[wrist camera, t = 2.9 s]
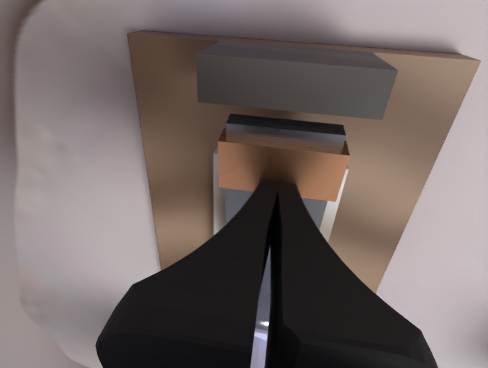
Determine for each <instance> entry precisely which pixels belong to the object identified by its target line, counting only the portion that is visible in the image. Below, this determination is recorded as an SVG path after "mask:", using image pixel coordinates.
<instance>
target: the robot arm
mask: <svg viewBox="0 0 488 368" xmlns="http://www.w3.org/2000/svg"><path fill="white" fill-rule="evenodd" d="M269 249H270V314H269V325H268V330H263V329H257V328H255V326H256V317H257V309H258V301H259V295H260V290H261V286H262V281H263V277H264V272H265V268H266V263H267V258H268V254H269ZM95 346H96V350H97V355H98V358H99V360H100V362H101V364H102V367H103V368H438V366H437V364H436V361H435V359H434V357H433V354H432V352H431V350H430V348H429V346H428V344H427V342H426V340H425V338H424V336H423V334H422V332H421V330H420V329H418V328H417V327H416V326H415V325H413V324H412V323H411V322H409V321H408V320H407V319H406V318H404V317H403V316H402V315H400V314H399V313H398V312H397V311H395V310H394V309H393V308H392V307H390V306H389V305H388V304H387V303H385V302H384V301H383V300H382V299H381V298H380V297H379V296H377V295H376V294H375V293H374V292H373V291H372V290H371V289H370V288H368V287H367V286H366V285H365V284H364V283H363V282H362V281H361V280H360V279H359V278H358V277H357V276H356V275H355V274H354V273H353V272H352V271H351V270H350V269H349V267H348V266H347V265H346V264H345V263H344V262H343V261H342V260H341V259H340V257H339V256H338V255H337V254H336V252H335V251H334V250H333V249H332V247H331V246H330V245H329V243H328V242H327V241H326V239H325V238H324V236H323V235H322V233H321V232H320V230H319V229H318V227H317V226H316V224H315V222H314V221H313V219H312V217H311V215H310V214H309V212H308V210H307V208H306V206H305V204H304V202H303V200H302V198H301V195H300V193H299V190H298V187H297V186H296V185H295V184H292V183H283V182H275V181H267V180H261V181H260V182H259V183H258V185H257V187H256V189H255V190H254V192H253V193H252V195H251V196H250V197H249V199H248V200H247V201H246V203H245V204H244V205H243V206H242V208H241V209H240V210H239V211H238V212H237V213H236V214H235V215H234V217H233V218H232V219H231V220H230V221H229V222H228V223H227V224H226V225H225V226H224V227H223V228H222V229H221V230H219V231H218V232H217V233H216V234H215V235H214V236H213V237H211V238H210V239H209V240H207V241H206V242H205V243H204V244H202V245H201V246H200V247H198V248H197V249H196V250H194V251H193V252H191V253H190V254H188V255H187V256H185V257H183V258H182V259H180V260H179V261H177V262H175V263H174V264H172V265H171V266H169V267H167V268H165V269H164V270H162V271H160V272H158V273H156V274H154V275H151V276H149V277H147V278H145V279H143V280H141V281H139V282H137V283H135V284H133V285H132V286H131V287H130V289H129V290H128V291H127V293H126V294H125V295H124V297H123V298H122V299H121V301H120V302H119V304H118V305H117V306H116V308H115V309H114V311H113V313H112V315H111V316H110V318H109V320H108V322H107V323H106V325H105V327H104V329H103V330H102V332H101V334H100V336H99V337H98V340H97V342H96V345H95Z"/></svg>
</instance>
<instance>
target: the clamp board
mask: <svg viewBox="0 0 488 368" xmlns="http://www.w3.org/2000/svg"><path fill="white" fill-rule="evenodd" d="M127 36H128V43H129V50H130V57H131V63H132V70H133V77H134V84H135V91H136V98H137V105H138V112H139V119H140V126H141V133H142V140H143V146H144V153H145V160H146V167H147V174H148V181H149V188H150V195H151V202H152V209H153V216H154V222H155V229H156V236H157V243H158V250H159V257H160V264H161V271H162V270H164V269H165V268H167V267H169V266H171V265H172V264H174V263H175V262H177V261H179V260H180V259H182V258H183V257H185V256H187V255H188V254H190V253H191V252H193V251H194V250H196V249H197V248H198V247H200V246H201V245H202V244H204V243H205V242H206V241H207V240H209V239H210V238H211V237H213V236H214V235H215V234H216V233H217V232H218V231H219V230H221V229H222V228H223V227H224V226H225V225H226V188H221V187H219V172H218V140H219V138H220V136H221V133H222V131H223V129H224V128H226V122H227V120H228V118H229V116H230V114H240V115H250V116H260V117H270V118H280V119H290V120H300V121H310V122H320V123H330V124H340V125H343V126H344V129H345V133H346V138H345V141H346V142H347V146H348V150H349V153H350V158H349V161H348V164H347V168H346V171H345V174H344V177H343V181H342V184H341V187H340V190H339V194H338V197H337V200H336V202H333V201H328V202H327V205H326V209H325V212H324V216H323V219H322V223H321V227H320V232H321V233H322V235H323V236H324V238H325V239H326V241H327V242H328V243H329V245H330V246H331V247H332V249H333V250H334V251H335V252H336V254H337V255H338V256H339V257H340V259H341V260H342V261H343V262H344V263H345V264H346V265H347V266H348V267H349V269H350V270H351V271H352V272H353V273H354V274H355V275H356V276H357V277H358V278H359V279H360V280H361V281H362V282H363V283H364V284H365V285H366V286H367V287H368V288H370V289H371V290H372V291H373V292H374V293H376V291H377V289H378V286H379V284H380V282H381V280H382V278H383V275H384V273H385V271H386V269H387V267H388V264H389V262H390V260H391V258H392V256H393V253H394V251H395V249H396V247H397V245H398V242H399V240H400V238H401V236H402V234H403V231H404V229H405V227H406V225H407V223H408V220H409V218H410V216H411V214H412V212H413V209H414V207H415V205H416V203H417V201H418V198H419V196H420V194H421V192H422V190H423V187H424V185H425V183H426V181H427V179H428V176H429V174H430V172H431V170H432V168H433V165H434V163H435V161H436V159H437V157H438V154H439V152H440V150H441V148H442V146H443V143H444V141H445V139H446V137H447V135H448V132H449V130H450V128H451V126H452V124H453V121H454V119H455V117H456V115H457V113H458V110H459V108H460V106H461V104H462V102H463V99H464V97H465V95H466V93H467V91H468V88H469V86H470V84H471V82H472V80H473V77H474V75H475V73H476V71H477V69H478V66H479V64H480V62H481V61H480V60H477V59H474V58H471V57H468V56H465V55H461V54H448V53H435V52H421V51H408V50H395V49H381V48H368V47H355V46H341V45H328V44H315V43H301V42H288V41H275V40H261V39H248V38H235V37H222V36H208V35H195V34H182V33H168V32H155V31H138V32H133V33H128V34H127Z"/></svg>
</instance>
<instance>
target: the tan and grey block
mask: <svg viewBox="0 0 488 368" xmlns="http://www.w3.org/2000/svg"><path fill="white" fill-rule="evenodd" d="M345 138H346V133H345V129H344V126H343V125H340V124H330V123H320V122H310V121H300V120H290V119H280V118H270V117H260V116H250V115H240V114H230V116H229V118H228V120H227V122H226V128H224V129H223V131H222V133H221V136H220V138H219V140H218V172H219V187H221V188H226V224H227V223H228V222H229V221H230V220H231V219H232V218H233V217H234V215H235V214H236V213H237V212H238V211H239V210H240V209H241V208H242V206H243V205H244V204H245V203H246V201H247V200H248V199H249V197H250V196H251V195H252V193H253V192H254V190H255V189H256V187H257V185H258V183H259V182H260V181H261V180H267V181H275V182H283V183H292V184H295V185H296V186H297V187H298V190H299V193H300V195H301V198H302V200H303V202H304V204H305V206H306V208H307V210H308V212H309V214H310V215H311V217H312V219H313V221H314V222H315V224H316V226H317V227H318V229H319V230H320V227H321V223H322V219H323V216H324V212H325V209H326V205H327V202H328V201H333V202H336V200H337V197H338V194H339V190H340V187H341V184H342V181H343V177H344V174H345V171H346V168H347V164H348V161H349V158H350V153H349V150H348V146H347V142H346V141H345ZM269 314H270V249H269V254H268V258H267V263H266V268H265V272H264V277H263V281H262V286H261V290H260V295H259V301H258V309H257V317H256V326H255V328H261V329H267V330H268V325H269Z"/></svg>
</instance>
